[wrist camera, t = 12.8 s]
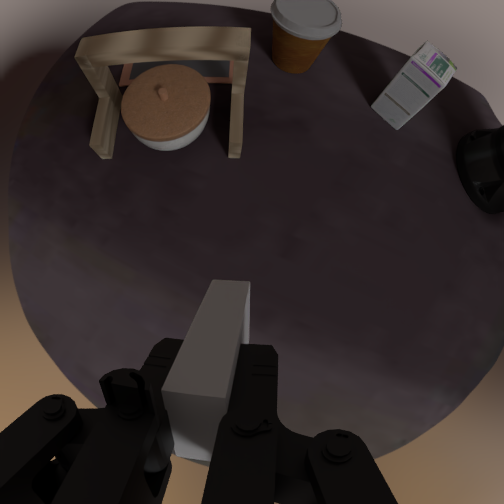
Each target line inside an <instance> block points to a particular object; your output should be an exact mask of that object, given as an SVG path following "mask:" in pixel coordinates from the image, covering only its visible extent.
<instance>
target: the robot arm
mask: <svg viewBox="0 0 504 504" xmlns="http://www.w3.org/2000/svg"><path fill="white" fill-rule="evenodd" d="M457 166H458V171H459V175H460V178H461V181H462V183H463V186H464V188H465V190H466V192H467V194H468V195H469V197H470V198H471V199H472V201H473V202H474V203H475V204H476V205H477V206H478V207H479V208H480V209H481V210H483V211H485V212H487V213H490V214H496V213H500V212H503V211H504V125H503V126H502V127H500V128H496V129H483V130H475V131H472V132H471V133H469V134H467V135H466V136H464V137H463V138H462V139H461V140H460V142H459V145H458V148H457ZM249 315H250V281H230V280H212V282H211V284H210V286H209V288H208V290H207V293H206V295H205V297H204V299H203V301H202V303H201V305H200V307H199V309H198V312H197V314H196V316H195V318H194V320H193V322H192V324H191V326H190V329H189V331H188V333H187V335H186V337H185V339H184V340H181V339H172V338H164V339H163V340H161V341H160V342H159V343H157V344H156V345H154V347H153V349H152V350H151V352H150V354H149V357H147V359H146V361H145V362H144V365H143V366H142V368H141V369H140V371H139V370H135V369H127V368H122V369H117V370H113V371H111V372H109V373H107V374H105V375H104V376H103V377H102V378H101V379H100V380H99V383H100V386H101V389H102V392H103V395H104V398H105V401H106V403H107V405H106V407H105V408H98V409H78V408H77V406H76V404H75V401H73V400H72V399H71V398H70V397H68V396H65V395H62V394H53V395H50V396H46V397H44V398H42V399H41V400H39V401H38V402H37V403H35V404H34V405H33V406H32V407H31V408H29V409H28V410H27V411H26V412H24V413H23V414H22V415H21V416H20V417H18V418H17V419H16V420H15V421H14V422H13V423H11V424H10V425H9V426H8V427H7V428H5V429H4V430H3V431H2V432H1V433H0V504H162V500H163V497H164V494H165V491H166V488H167V484H168V481H169V478H170V474H171V471H172V464H171V461H170V456H171V453H172V450H173V447H174V449H175V453H176V456H179V457H185V458H191V459H198V460H205V461H211V462H210V466H209V471H208V475H207V480H206V484H205V489H204V494H203V498H202V503H201V504H274V502H276V503H279V504H398V503H397V501H396V499H395V497H394V495H393V494H392V492H391V490H390V488H389V486H388V485H387V483H386V481H385V479H384V477H383V475H382V474H381V472H380V470H379V468H378V466H377V464H376V463H375V461H374V459H373V457H372V455H371V453H370V452H369V450H368V448H367V446H366V444H365V443H364V442H363V441H362V440H361V438H360V437H359V436H357V435H355V434H353V433H352V432H349V431H345V430H340V429H336V430H327V431H324V432H321V433H319V434H317V435H316V436H315V437H314V438H312V437H308V436H304V435H301V434H298V433H295V432H292V431H291V430H289V429H288V428H286V427H285V426H284V425H283V424H282V423H281V422H280V420H279V418H278V415H277V386H278V354H277V352H276V351H275V349H274V348H273V346H272V345H257V344H248V343H249ZM54 456H55V457H56V459H54V460H52V461H50V460H51V459H52V458H53V457H54Z"/></svg>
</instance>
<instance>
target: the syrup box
mask: <svg viewBox="0 0 504 504" xmlns="http://www.w3.org/2000/svg"><path fill="white" fill-rule="evenodd" d="M456 70H457V67H456V66H455V65H454V64H453V63H452V62H451V61H450V60H449V58H448V57H446V56H445V55H444V54H443V53H442V52H441V51H440V50H438V49H437V48H436V47H435V46H433V45H432V44H431V43H430V42H428V41H426V42H425V43H424V44H423V45H422V46H421V47H419V48H418V49H417V51H416V52H415V53H414V54H413V55H412V56H411V58H410V59H409V60H408V61H407V63H406V64H405V65H404V66H403V67H402V69H401V70H400V71H399V72H398V73H397V75H396V76H395V77H394V78H393V79H392V81H391V82H390V83H389V84H388V85H387V87H386V88H385V89H384V90H383V92H382V93H381V94H380V95H379V96H378V98H377V99H376V100H375V101H374V103H373V104H372V105H371V108H372V109H373V110H374V111H376V112H377V113H378V114H379V115H380V116H381V117H382V118H383V119H384V120H385V121H387V122H388V123H389V124H390V125H391V126H392V127H393V128H394V129H395V130H398V129H399V128H400V127H401V126H403V125H404V124H405V123H406V122H407V121H408V120H410V119H411V118H412V117H413V116H414V115H415V114H416V113H417V112H418V111H419V110H421V109H422V108H423V107H424V106H425V105H426V104H427V103H428V102H429V101H430V100H431V99H432V98H433V97H435V96H436V95H437V94H438V93H439V92H440V91H441V90H442V89H443V88H445V86H446V85H447V83H448V82H449V80H450V79H451V77H452V76H453V74H454V73H455V71H456Z"/></svg>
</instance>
